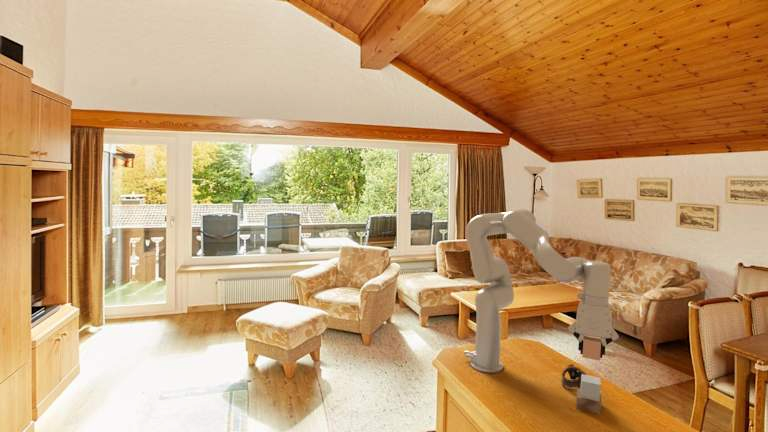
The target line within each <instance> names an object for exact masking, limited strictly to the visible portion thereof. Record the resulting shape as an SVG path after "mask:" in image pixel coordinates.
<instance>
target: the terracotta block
mask: <svg viewBox="0 0 768 432" xmlns="http://www.w3.org/2000/svg"><path fill="white" fill-rule="evenodd" d="M601 342H602V341H601V338H600V337H594V336H588V335H584V337H583V354H581V356H582V358H584V359H588V360H589V359H590V360H594V361H599V362H600V361H601V358H600V351H601Z"/></svg>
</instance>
